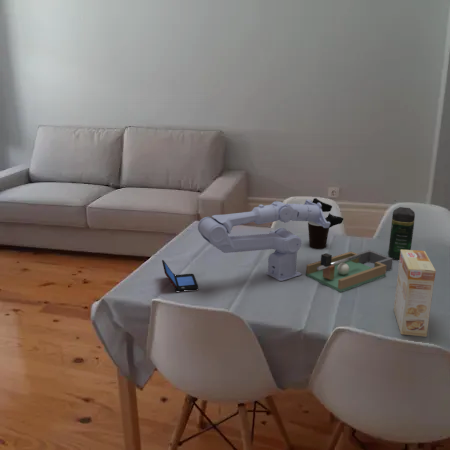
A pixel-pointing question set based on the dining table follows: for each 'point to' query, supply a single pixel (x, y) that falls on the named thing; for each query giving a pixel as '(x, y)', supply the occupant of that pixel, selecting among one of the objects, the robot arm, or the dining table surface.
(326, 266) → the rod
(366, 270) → the pitch
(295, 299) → the dining table surface
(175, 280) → the handheld game console
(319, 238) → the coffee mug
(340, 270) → the ball
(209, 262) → the dining table surface
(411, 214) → the coffee jar
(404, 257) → the coffeecake box
